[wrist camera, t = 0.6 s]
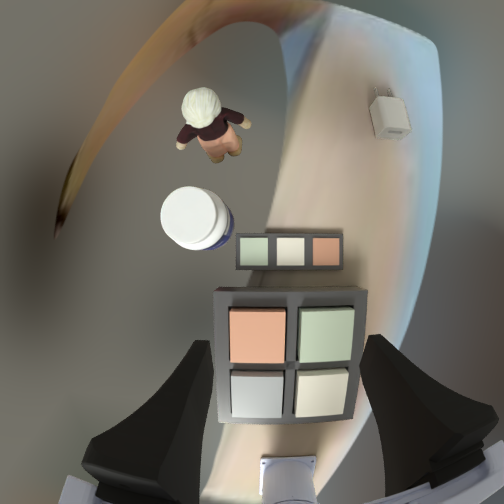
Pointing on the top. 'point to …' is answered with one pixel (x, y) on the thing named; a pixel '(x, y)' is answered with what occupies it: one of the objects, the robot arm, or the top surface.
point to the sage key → (324, 333)
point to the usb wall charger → (389, 117)
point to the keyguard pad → (290, 301)
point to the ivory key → (320, 391)
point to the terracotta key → (257, 334)
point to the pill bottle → (197, 219)
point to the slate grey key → (256, 393)
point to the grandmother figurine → (210, 124)
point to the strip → (289, 251)
